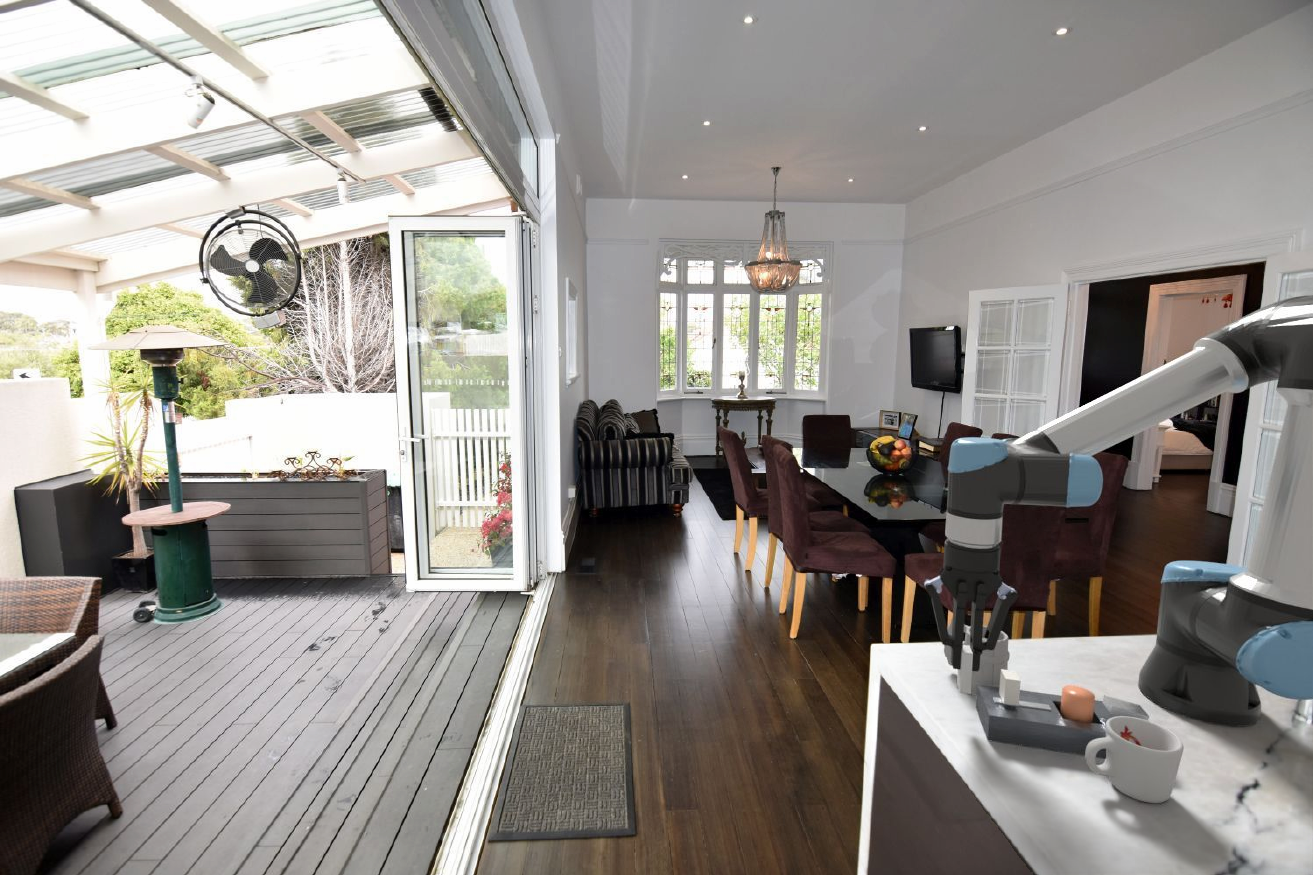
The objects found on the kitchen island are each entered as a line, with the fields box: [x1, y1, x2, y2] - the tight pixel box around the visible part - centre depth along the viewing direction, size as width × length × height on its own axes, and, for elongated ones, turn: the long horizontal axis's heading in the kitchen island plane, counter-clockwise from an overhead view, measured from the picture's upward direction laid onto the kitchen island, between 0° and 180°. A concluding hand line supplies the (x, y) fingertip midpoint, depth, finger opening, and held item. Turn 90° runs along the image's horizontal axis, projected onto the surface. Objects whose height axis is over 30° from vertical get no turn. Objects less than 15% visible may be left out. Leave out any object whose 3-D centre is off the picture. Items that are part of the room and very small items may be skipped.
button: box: [1060, 684, 1096, 723], centre depth 92 cm, size 4×4×5 cm
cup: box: [1084, 716, 1184, 804], centre depth 81 cm, size 11×8×8 cm
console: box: [975, 684, 1119, 760], centre depth 93 cm, size 21×9×5 cm, turn 73°
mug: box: [943, 616, 1010, 696], centre depth 107 cm, size 8×12×12 cm, turn 26°
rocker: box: [1101, 695, 1150, 721], centre depth 90 cm, size 5×3×1 cm, turn 73°
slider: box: [999, 669, 1022, 706], centre depth 94 cm, size 2×3×4 cm, turn 163°
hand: (963, 688), depth 96 cm, fingers closed
